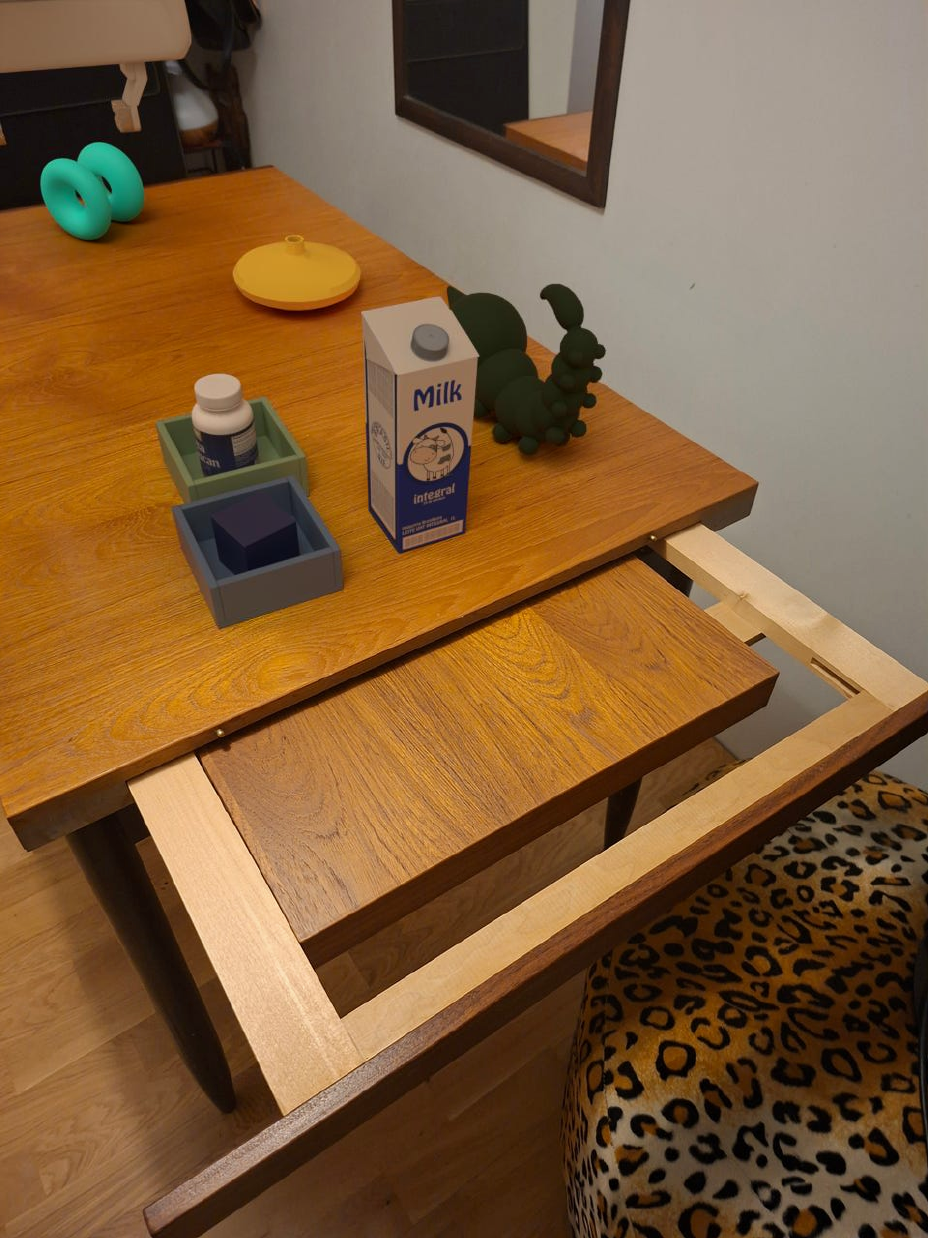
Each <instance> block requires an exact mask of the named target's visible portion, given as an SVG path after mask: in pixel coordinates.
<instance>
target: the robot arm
mask: <svg viewBox="0 0 928 1238" xmlns="http://www.w3.org/2000/svg"><path fill="white" fill-rule="evenodd" d="M189 20H190V19H189V15H188V11H187V7H186V2H185V0H0V74H5V73H6V74H7V73H17V72H20V73H21V72H30V71H45V70H58V69H68V68H82V67H96V66H107V65H119V68H120V72H121V73H122V74H123V75H124V76H125V77H126V78H127V79H126V82H125V86H124V90H123V93H122V97H121V99H114V100H110V102H111V107H112V111H113V112H114V114H115V115H114V120H115V121H114V122H115V125H116V128H117V129H118V131H119V132H120V133H121V134H122V133H123V134H124V133H133V132H141V131H142V125H141V120H140V115H139V110H138V106H139V105H140V102H141V99H142V97H143V93H144V90H145V87H146V84H147V81H148V74H147V69H146V62H149V63H150V62H161V61H171V60H183V59H184V58H185V57H186V55H187V53H188V51H189V49H190V46H191V45H192V33H191V26H190V21H189ZM6 145H7V142H6V138H5V135H4V133H3V128H2V125H1V123H0V146H6Z"/></svg>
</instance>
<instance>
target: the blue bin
mask: <svg viewBox="0 0 928 1238" xmlns="http://www.w3.org/2000/svg"><path fill="white" fill-rule="evenodd" d="M260 492H262V493H263V494H264V495H266V496H267V497H268V498H269V499H270V500H272V501H273V502H274V503H275V504H276V505H277V506H279V507H280V508H281V509H282V510H283V511H285V512H286V513H287V514H288V515H289V516H291V517H292V518H293V519H294V520H295V521H296V525H297V534H298V543H299V552H300V556H298V557H295V558H291V559H288V560H284V561H281V562H278V563H274V564H271V565H268V566H264V567H261V568H258V569H254V570H251V571H248V572H244V573H241V574H238V575H234V574H233V573H232V572H231V571H230V570H229V569H228V568H227V567H226V566H225V565H224V564H223V563H222V562H220V561H219V556H218V551H217V546H216V541H215V536H214V532H213V527H212V522H211V517H210V516H211V515H213V514H215V513H217V512H220V511H222V510H224V509H226V508H228V507H230V506H232V505H235V504H237V503H239V502H241V501H243V500H245V499H247V498H250V497H252V496H254V495H256V494H258V493H260ZM170 510H171V512H172V513H171V514H172V517H173V521H174V525H175V529H176V533H177V537H178V542H179V545H180V549H181V551H182V553H183V556H184V557H185V559H186V562H187V564H188V567H189V568H190V570H191V573H192V574H193V575H192V576H193V577H194V579H195V582H196V583H197V585H198V588H199V590H200V592H201V594H202V597H203V599H204V601H205V603H206V605H207V607H208V610H209V612H210V614H211V615H212V618H213V620H214V622H215V625H216V627H217V629H223V628H227V627H231V626H233V625H236V624H239V623H242V622H245V621H248V620H251V619H255V618H258V617H261V616H264V615H267V614H270V613H273V612H276V611H280V610H282V609H287V608H289V607H292V606H295V605H298V604H301V603H305V602H308V601H311V600H314V599H317V598H321V597H323V596H327V595H330V594H333V593H337V592H339V591H342V590H344V575H343V574H344V573H343V560H342V548H341V546H340V545H339V544H338V543H337V541H336V539H335V538H334V536H333V535H332V533H331V532H330V530H329V528H328V527H327V525H326V523H325V522H324V521H323V519H322V517H321V515H320V513H318V511H317V509H316V508H315V506H314V505H313V503H312V501H311V500H310V499H309V496H308V497H307V495H306V494H305V492H304V491H303V489H302V488H301V486H300V484H299V483H298V481H297V480H296V478H295V477H294V475H292V476H288V477H287V478H286V477H284V478H281V479H277V480H273V481H269V482H265V483H262V484H258V485H254V486H250V487H246V488H242V489H239V490H235V491H231V492H227V493H223V494H220V495H216V496H212V497H208V498H204V499H200V500H197V501H193V502H189V503H182V504H178V505H174V506H171V509H170Z"/></svg>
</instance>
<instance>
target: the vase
mask: <svg viewBox="0 0 928 1238" xmlns="http://www.w3.org/2000/svg"><path fill="white" fill-rule="evenodd" d="M284 240H285V241H277V242H274V243H268V244H263V245H261V246H258V247H254V248H252V249H251V250H249V251H248V252H246V253H244V254H243V255H242V256H241V257H240V258H239V260H237V262H236V263H235V265H234V268H233V270H232V273H231V274H232V277H233V281H234V283H235V285H236V288H237V289H238V291H239V292H240V293H241V294H242V295H243V296H244V297H245V298H246V299H248V300H250V301H252V302H254V303H257V304H259V305H262V306H266V307H269V308H273V309H277V310H284V311H295V312H302V311H313V310H317V309H322V308H326V307H329V306H332V305H334V304H337V303H339V302H342V301H345V300H346V299H347V298H348V297H350V296H351V295H353V294H354V293H355V291H356V290H357V288H359V287H358V286H359V283H360V280H361V276H362V275H361V273H362V270H361V268H360V265H359V264H358V262H357V261H356V260H355V259H354V258H353V257H352V256H351V255H350V254H349V253H348V252H346V251H344V250H343V249H341V248H338V247H337V246H333V245H329V244H326V243H322V242H315V241H309V240H308V241H306V240H305V239H304V237H303V236H301V235H297V234H292V235H291V234H290V235H287V236H286V237H285V239H284Z"/></svg>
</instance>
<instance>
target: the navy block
mask: <svg viewBox="0 0 928 1238" xmlns="http://www.w3.org/2000/svg"><path fill="white" fill-rule="evenodd" d="M210 517H211V522H212V527H213V532H214V536H215V541H216V546H217V551H218V556H219V561H220V562H222V563H223V564H224V565H225V566H226V567H227V568H228V569H229V570H230V571H231V572H232V573H233V574H234V575H238V574H241V573H244V572H248V571H251V570H254V569H258V568H261V567H264V566H268V565H271V564H274V563H278V562H281V561H284V560H288V559H291V558H295V557H298V556H300V552H299V543H298V534H297V525H296V521H295V520H294V519H293V518H292V517H291V516H289V515H288V514H287V513H286V512H285V511H283V510H282V509H281V508H280V507H279V506H277V505H276V504H275V503H274V502H273V501H272V500H270V499H269V498H268V497H267V496H266V495H264V494H263V493H262V492H260V493H258V494H256V495H254V496H252V497H250V498H247V499H245V500H243V501H241V502H239V503H237V504H235V505H232V506H230V507H228V508H226V509H224V510H222V511H220V512H217V513H215V514H213V515H211V516H210Z"/></svg>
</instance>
